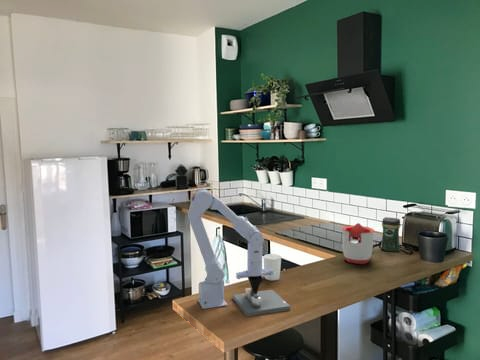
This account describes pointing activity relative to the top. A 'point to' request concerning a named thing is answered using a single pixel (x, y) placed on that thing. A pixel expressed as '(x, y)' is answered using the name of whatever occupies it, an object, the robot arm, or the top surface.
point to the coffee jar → (390, 234)
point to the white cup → (272, 265)
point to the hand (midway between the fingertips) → (254, 294)
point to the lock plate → (268, 304)
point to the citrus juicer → (357, 243)
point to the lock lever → (253, 298)
